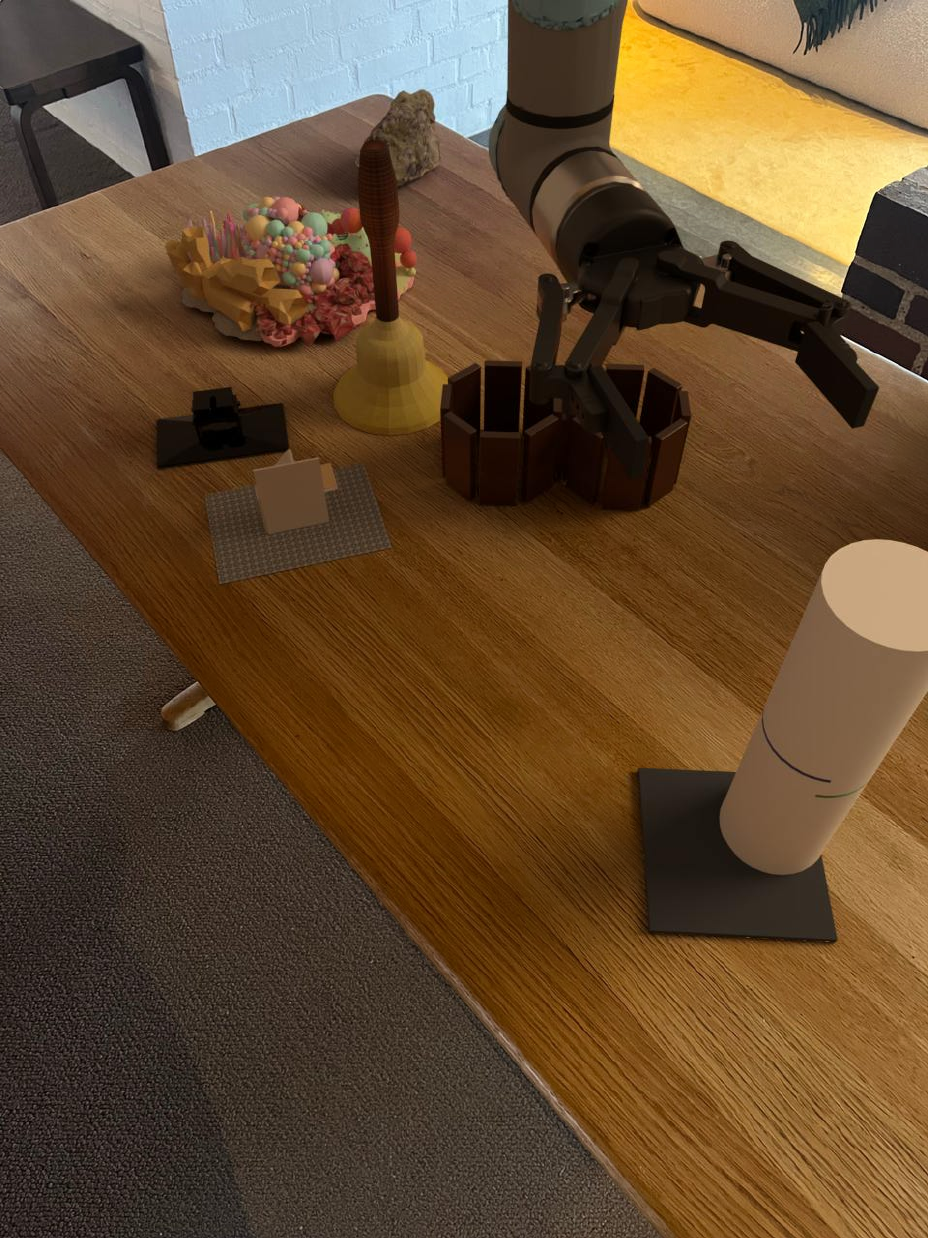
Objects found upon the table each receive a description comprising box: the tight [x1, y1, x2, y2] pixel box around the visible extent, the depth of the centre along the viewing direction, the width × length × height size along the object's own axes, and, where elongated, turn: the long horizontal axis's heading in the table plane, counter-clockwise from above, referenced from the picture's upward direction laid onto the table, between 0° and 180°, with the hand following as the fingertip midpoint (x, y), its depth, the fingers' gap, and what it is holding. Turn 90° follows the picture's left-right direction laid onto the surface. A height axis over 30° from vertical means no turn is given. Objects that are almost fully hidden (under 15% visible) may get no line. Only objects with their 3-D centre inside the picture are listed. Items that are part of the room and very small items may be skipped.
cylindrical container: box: [720, 538, 928, 875], centre depth 56 cm, size 7×7×25 cm
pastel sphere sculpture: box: [164, 195, 418, 349], centre depth 105 cm, size 25×24×9 cm
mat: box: [637, 767, 839, 943], centre depth 65 cm, size 12×12×1 cm
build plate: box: [156, 386, 290, 470], centre depth 91 cm, size 12×7×5 cm, turn 101°
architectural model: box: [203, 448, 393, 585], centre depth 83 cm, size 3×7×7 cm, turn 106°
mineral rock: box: [355, 88, 442, 187], centre depth 121 cm, size 13×11×10 cm
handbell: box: [332, 140, 449, 437], centre depth 87 cm, size 12×12×25 cm
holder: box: [440, 359, 692, 511], centre depth 87 cm, size 22×11×8 cm, turn 87°
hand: (755, 433), depth 52 cm, fingers open, 13 cm apart
